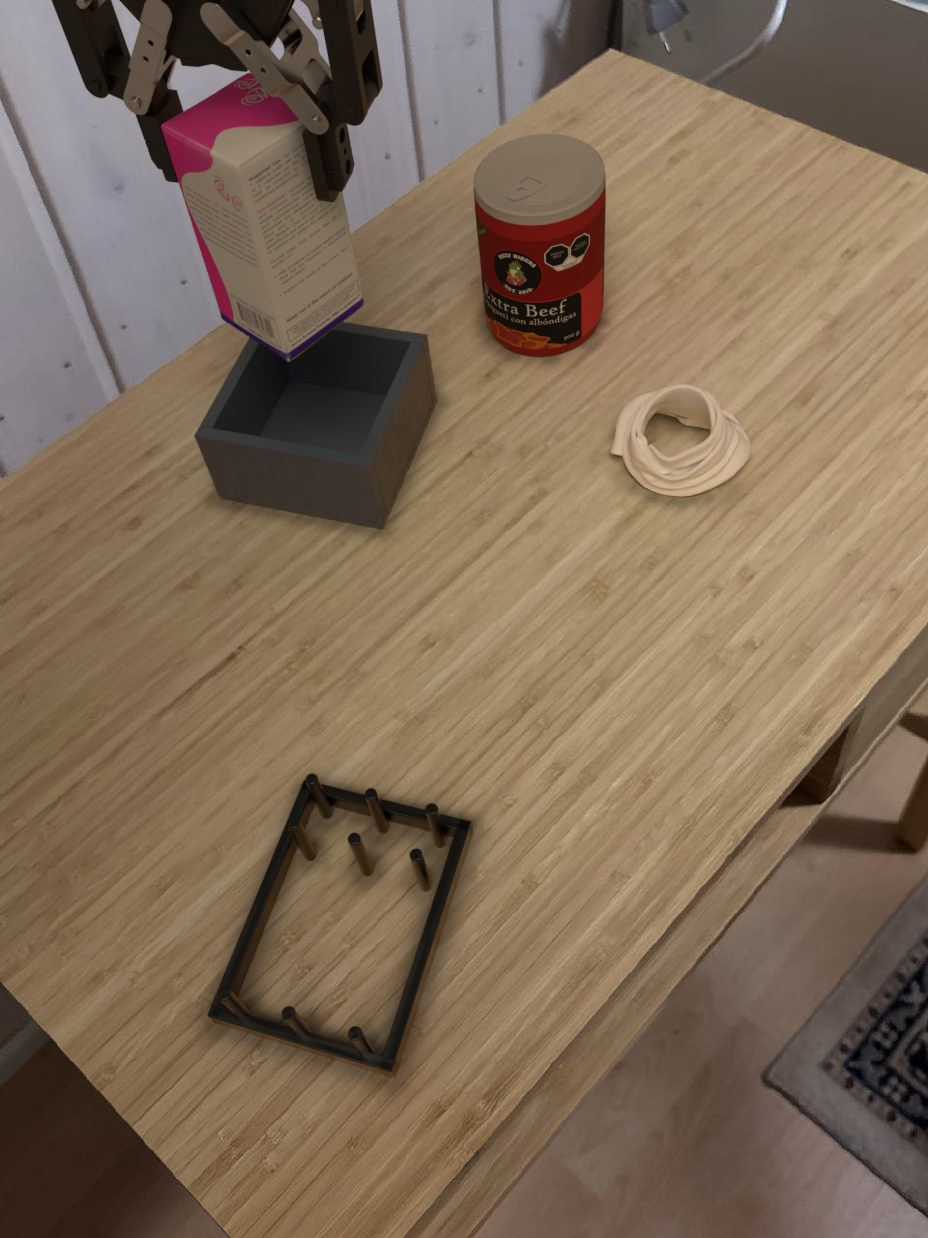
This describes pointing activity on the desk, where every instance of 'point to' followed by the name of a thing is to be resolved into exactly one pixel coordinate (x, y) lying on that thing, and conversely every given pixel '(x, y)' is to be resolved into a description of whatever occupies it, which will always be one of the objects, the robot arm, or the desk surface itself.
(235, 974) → the dish rack
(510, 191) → the canned food
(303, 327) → the supplement box
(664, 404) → the cream coiled cloth
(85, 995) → the desk surface
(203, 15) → the robot arm
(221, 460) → the dark grey storage bin
